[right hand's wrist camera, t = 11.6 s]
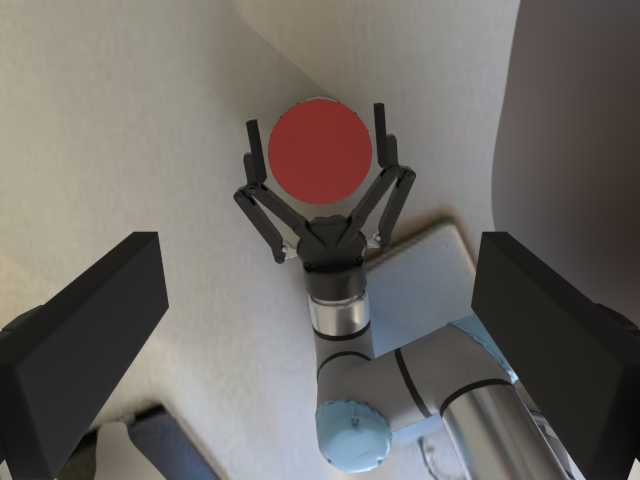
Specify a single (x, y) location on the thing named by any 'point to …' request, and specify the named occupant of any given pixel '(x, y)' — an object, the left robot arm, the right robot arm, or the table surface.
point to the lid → (319, 151)
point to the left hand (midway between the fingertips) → (314, 111)
